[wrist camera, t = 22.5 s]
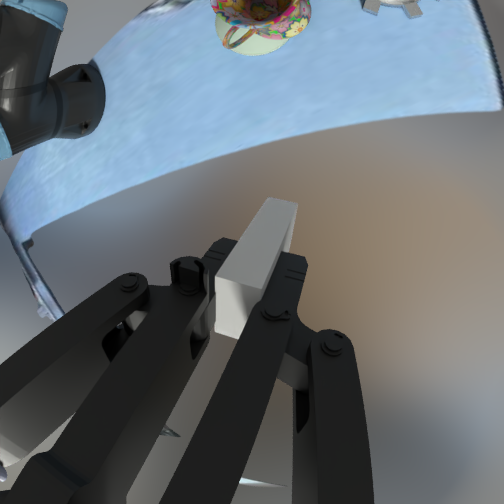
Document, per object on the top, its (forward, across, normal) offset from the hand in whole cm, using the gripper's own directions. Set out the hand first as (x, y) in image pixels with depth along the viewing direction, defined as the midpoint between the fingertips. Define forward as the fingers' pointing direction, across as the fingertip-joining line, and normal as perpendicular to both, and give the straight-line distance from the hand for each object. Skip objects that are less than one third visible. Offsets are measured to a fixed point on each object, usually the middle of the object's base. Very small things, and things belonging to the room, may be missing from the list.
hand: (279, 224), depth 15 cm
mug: (+26, -8, +16) cm, 31 cm away
